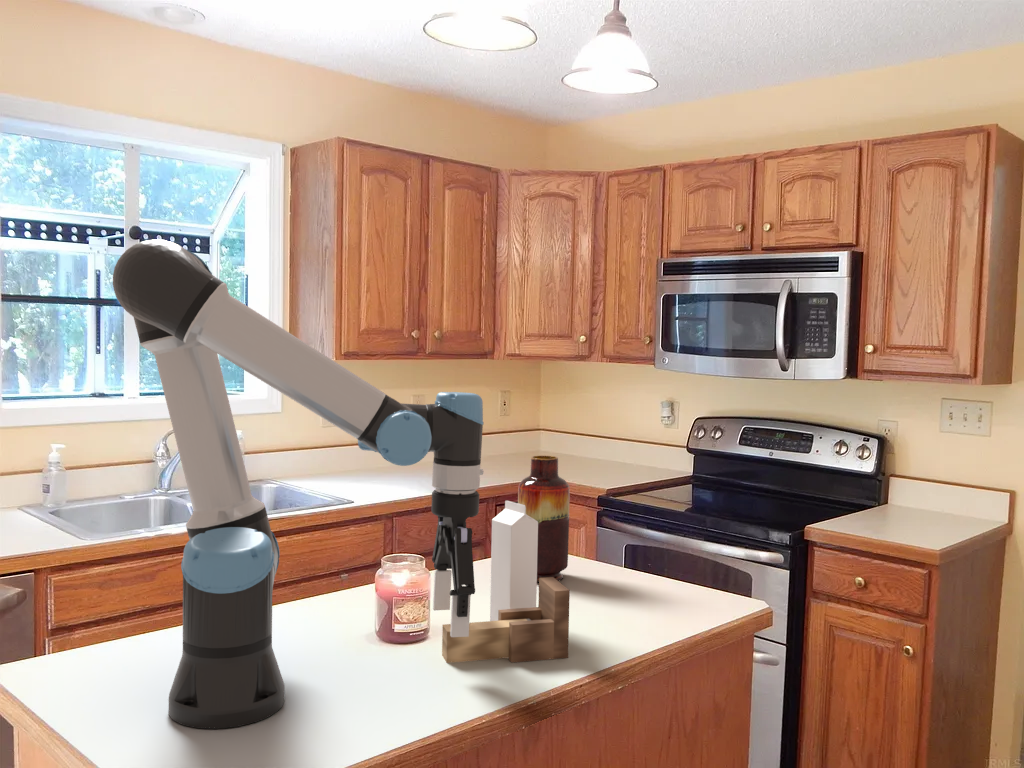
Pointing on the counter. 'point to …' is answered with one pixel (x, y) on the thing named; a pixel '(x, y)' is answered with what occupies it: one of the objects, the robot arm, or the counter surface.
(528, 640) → the brown wooden blocks
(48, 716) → the counter surface
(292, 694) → the counter surface
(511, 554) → the milk
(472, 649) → the wooden block
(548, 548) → the vase
